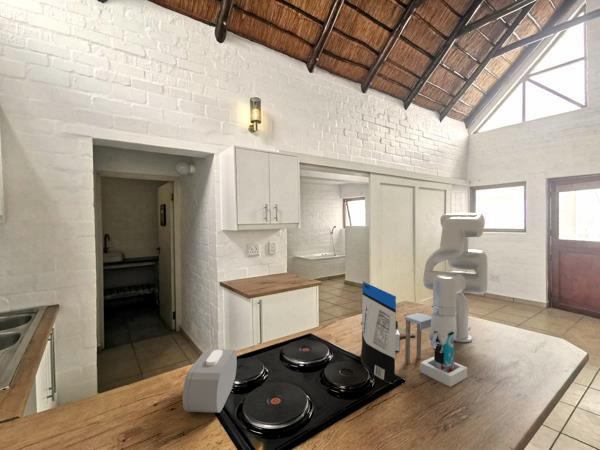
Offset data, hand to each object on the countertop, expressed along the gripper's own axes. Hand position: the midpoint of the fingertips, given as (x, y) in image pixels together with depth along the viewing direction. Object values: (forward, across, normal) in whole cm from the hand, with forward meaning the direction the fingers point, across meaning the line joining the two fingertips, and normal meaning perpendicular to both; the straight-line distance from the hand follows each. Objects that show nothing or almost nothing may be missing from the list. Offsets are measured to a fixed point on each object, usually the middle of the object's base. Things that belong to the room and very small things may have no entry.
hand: (443, 359), depth 100 cm
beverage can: (+5, -1, 0) cm, 5 cm away
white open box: (+5, 0, -3) cm, 6 cm away
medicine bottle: (+6, -2, -25) cm, 26 cm away
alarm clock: (+5, +74, -30) cm, 80 cm away
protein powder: (+6, +17, -16) cm, 24 cm away
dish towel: (+6, -17, -39) cm, 43 cm away
